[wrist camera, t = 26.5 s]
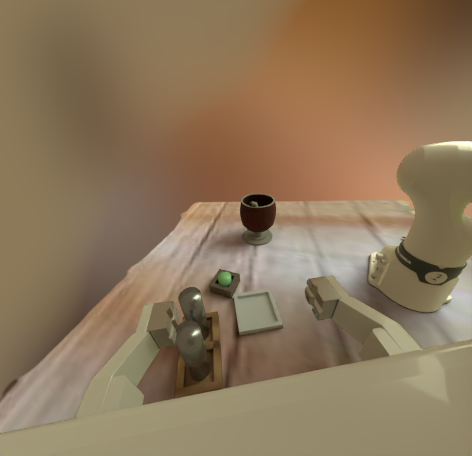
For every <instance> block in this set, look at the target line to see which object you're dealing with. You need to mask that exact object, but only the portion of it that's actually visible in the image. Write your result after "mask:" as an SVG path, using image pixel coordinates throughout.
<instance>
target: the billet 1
mask: <svg viewBox="0 0 472 456" xmlns="http://www.w3.org/2000/svg"><path fill="white" fill-rule="evenodd" d="M178 300H179V303H180V306H181V308H182V311H183V314H184V317H185V319H186V321H189V320H192V321H195V322H197V323H198V324H199V326H200V329H201V333H202V336H203V340H206V339H207V338H208V336H209V333H210V330H209V326H208V322H207V318H206V314H205V310H204V306H203V302H202V298H201V294H200V291H199V290H198V289H197V288H195V287H189V288H186V289H184V290H183V291H182V292H181V293H180V295H179V298H178Z"/></svg>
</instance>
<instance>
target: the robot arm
mask: <svg viewBox="0 0 472 456" xmlns="http://www.w3.org/2000/svg"><path fill="white" fill-rule="evenodd" d="M397 183H398V185H399V187H400V188H401V189H402V191H403V192H405V193H406V194H407V195H408V196H409V198H410V199H411V200H412V202H413V205H414V208H415V218H414V221H413V224H412V226H411V229H410V231H409V233H408V235H407V237H402V238H406V239H401V240H403V241H402V242H401V243H400V244H399V245H398V246H386V247H384V248H383V249H382V251H381V252H375V253H371V255H370V261H369V273H368V282H369V283H370V284H371V285H373V286H375V287H376V288H378V289H380V290H381V291H382V292H383V293H384V294H385V295H386V296H388V297H389V298H390V299H392V300H393V301H395V302H396V303H398V304H400V305H402V306H404V307H407V308H409V309H412V310H416V311H420V312H434V311H437V310H438V309H440V307H441V306H442V304H443V303H448V302H450V301H451V299H452V296H451V295H450V293H451V292H452V290H453V289H454V287H455V285H456V284H457V282H458V280H459V277H458V276H459V274H460V273H462V272H463V270H464V268H465V266H466V261H467V260H468V259H469V258H470V256H471V255H472V218H470V217H469V216H467V215H465V214H463V211H464V209H465V207H466V206H467V205H468V204H469V203H470V202H472V142H470V141H464V142H463V141H461V142H460V141H452V142H444V143H436V144H430V145H423V146H419V147H417V148H416V149H414V150H413V151H411V152H410V153H409V154H408V155H407V156H406V157H405V158H404V159H403V161H402V162H401V163H400V165H399V168H398V170H397ZM307 285H308V286H307V287H306V288H305V296H306V299H307V301H308V303H309V304H310V305H312V306H313V309H312V311H313V312H314V314H315V316H316V318H317V320H324V319H330V318H332V320H333V321H334V322H336V323H337V324H338V325H339V326H341V327H342V328H343V329H344V330H345V331H347V332H348V333H349V334H350V335H352V336H353V337H354V338H355V339H356V340H358V341H359V342H360V343H361V344H363V346H362V347H361V349H360V350H359V353H358V354H359V356H360V357H361V359H362V361H361V362H356V363H351V364H346V365H341V366H336V367H331V368H326V369H321V370H316V371H311V372H306V373H301V374H296V375H291V376H285V377H280V378H275V379H270V380H265V381H260V382H255V383H250V384H245V385H240V386H235V387H230V388H225V389H220V390H215V391H210V392H205V393H200V394H195V395H190V396H185V397H180V398H175V399H170V400H165V401H160V402H155V403H150V404H145V405H142V404H143V399H144V395H143V393H142V392H141V391H140V390H139V389H138V388H137V387H136V386H137V385H138V383H139V382H140V380H141V378H142V377H143V375H144V374H145V372H146V371H147V369H148V367H149V366H150V364H151V363H152V361H153V359H154V358H155V356H156V355H157V353H158V352H159V350H160V349H161V348H165V347H170V346H175V342H176V335H177V333H176V331H175V328H176V327H177V326H178V311H177V309H176V308H174V305H175V304H174V302H173V301H168V302H160V303H153V304H146V305H145V306H144V308H143V311H142V314H141V317H140V320H139V323H138V326H137V330H136V333H135V334H132V335H131V336H130V337H129V339H128V340H127V341H126V342H125V343H124V344H123V345H122V346H121V347H120V349H119V350H118V351H117V352H116V353H115V354H114V355H113V356H112V357H111V359H110V360H109V361H108V362H107V363H106V364H105V365H104V366H103V368H102V369H101V370H100V371H99V372H98V373H97V374H96V375H95V376H94V378H93V379H92V380H91V382H90V384H89V387H88V389H87V391H86V394H85V396H84V398H83V401H82V403H81V405H80V408H79V410H78V412H77V415H76V417H75V418H74V419H69V420H64V421H59V422H54V423H49V424H44V425H39V426H34V427H29V428H24V429H19V430H14V431H9V432H4V433H0V456H472V340H467V341H462V342H457V343H452V344H447V345H442V346H437V347H431V348H426V349H421V347H420V346H419V345H418V344H417V343H416V342H415V341H414V340H413V339H412V337H411V336H410V335H409V334H408V333H407V332H406V331H405V330H404V329H403V327H402V326H401V325H400V324H399V323H397V322H395V321H394V320H392V319H390V318H388V317H387V316H385V315H383V314H381V313H380V312H378V311H376V310H374V309H373V308H371V307H369V306H367V305H366V304H364V303H362V302H360V301H359V300H357V299H355V298H353V297H350V296H349V295H348V294H347V293H346V291H345V290H344V289H343V287H342V286H341V285H340V284H339V282H338V281H337V280H336V278H335V277H334V276H332V275H331V276H325V277H318V278H312V279H308V280H307Z"/></svg>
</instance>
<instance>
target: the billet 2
mask: <svg viewBox="0 0 472 456" xmlns="http://www.w3.org/2000/svg"><path fill="white" fill-rule="evenodd" d="M176 333H177V335H176V342H175V343H176V345H177V347H178V349H179V352H180V354H181V356H182V358H183V361H184V363H185V365H186V367H187V369H188V372H189V374H190V376H191V378H192V379H193V380H194V381H202V380H204V379H205V378H206V377H207V376H208V375H209V373H210V369H211V365H210V361H209V357H208V354H207V350H206V347H205V343H204V340H203V336H202V333H201V329H200V326H199V324H198V323H197V322H195V321H192V320H189V321H185V322H183V323H181V324H180V325H179V326H178V327H177V329H176Z"/></svg>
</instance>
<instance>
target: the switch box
mask: <svg viewBox="0 0 472 456" xmlns="http://www.w3.org/2000/svg"><path fill="white" fill-rule="evenodd" d="M221 272H229V271H225V270H221V269H219V271H218V272H217V274H216V275H215V277H214V279H213V280H212V282H211V283H210V285H209V286H210V291H211V292H213V293H216V294H219V295H222V296H225V297H229V298H232V296H233V294H234V292H235V290H236V288H237V286H238V284H239V282H240V274H237V273H233V272H229V273H230V274H231V280H232V282H231V284H230V286H229V287H226V286H222V285H219V282H218V275H219V274H220V273H221Z"/></svg>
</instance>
